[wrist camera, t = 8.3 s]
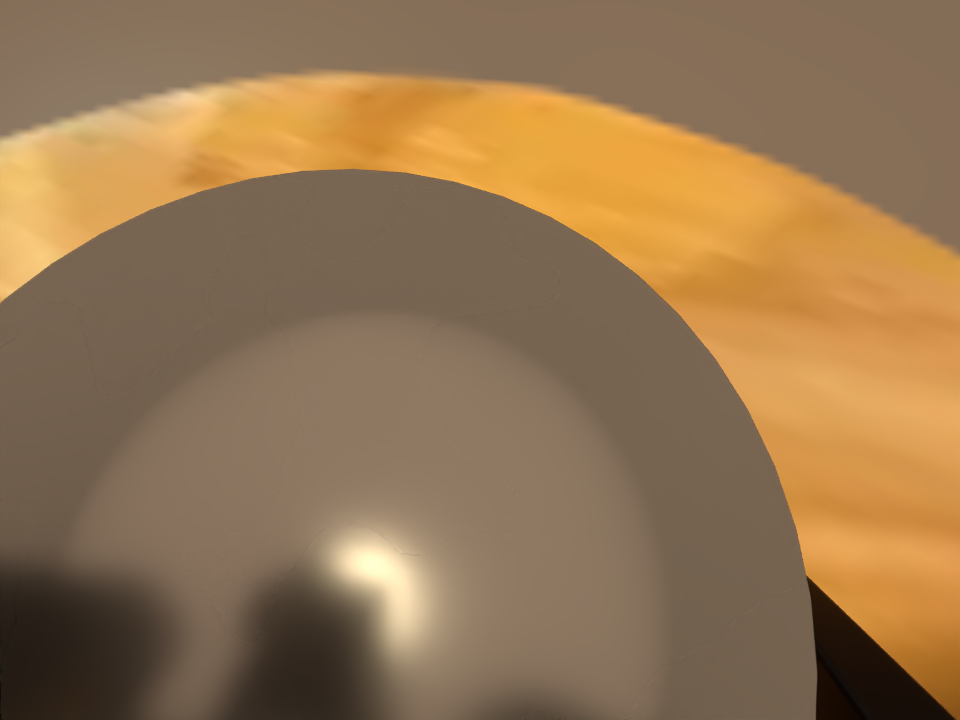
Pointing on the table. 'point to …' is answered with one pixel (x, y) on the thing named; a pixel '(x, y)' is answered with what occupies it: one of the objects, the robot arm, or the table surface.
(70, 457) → the brushed metal canister
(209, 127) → the table surface
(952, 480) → the table surface
